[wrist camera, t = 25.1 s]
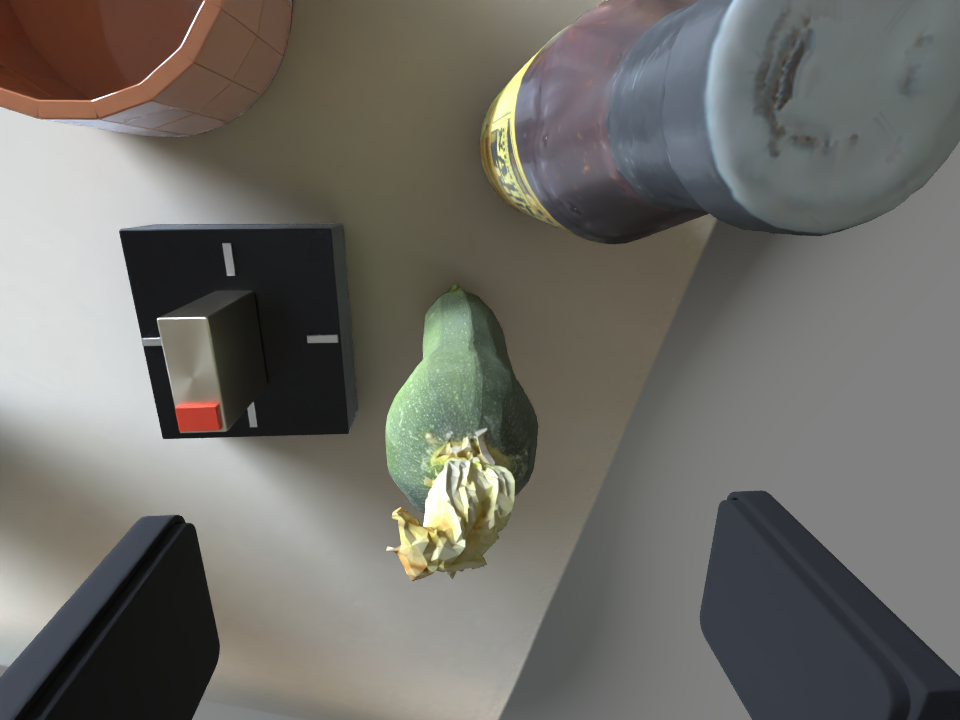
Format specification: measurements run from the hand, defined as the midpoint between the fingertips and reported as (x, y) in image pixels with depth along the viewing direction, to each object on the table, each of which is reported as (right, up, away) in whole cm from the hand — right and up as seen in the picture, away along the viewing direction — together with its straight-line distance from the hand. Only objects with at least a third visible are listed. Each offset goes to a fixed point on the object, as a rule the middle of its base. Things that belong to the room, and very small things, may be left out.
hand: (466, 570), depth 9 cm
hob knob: (-11, +5, +15) cm, 19 cm away
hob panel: (-11, +6, +18) cm, 22 cm away
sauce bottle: (+3, +14, +16) cm, 22 cm away
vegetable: (-1, +6, +19) cm, 20 cm away
